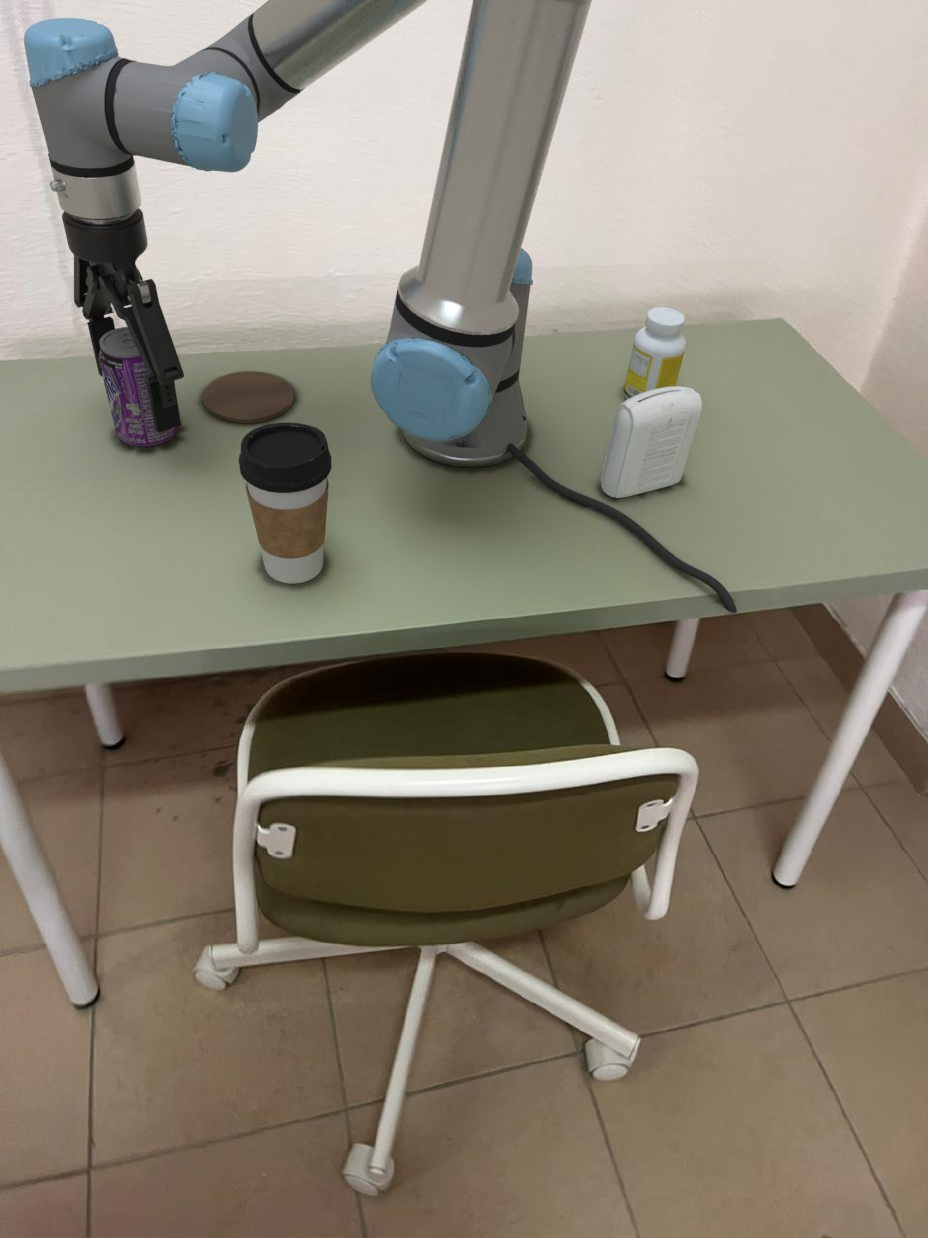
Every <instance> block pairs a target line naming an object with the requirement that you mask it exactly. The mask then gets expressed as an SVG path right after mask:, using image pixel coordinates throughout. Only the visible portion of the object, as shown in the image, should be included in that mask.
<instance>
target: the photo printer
mask: <svg viewBox="0 0 928 1238" xmlns="http://www.w3.org/2000/svg"><path fill="white" fill-rule="evenodd" d="M702 412H703V402H702V397H701V395H700V393H698V392H696V391H695V390H694V388H691V387H687V386H678V385H676V386H675V387H663V388H658V389H653V390H650V391H647V392H644V393H641V394H638V395H636V396H634V397H632V398H630V399H628V400H627V399H626V400H624V401H623V402H621V403H620V404H619V405H618V406H617V408H616V409H615V412H614V416H613V420H612V425H611V429H610V433H609V437H608V441H607V446H606V451H605V454H604V459H603V463H602V468H601V473H600V479H599V481H600V482H601V483H600V487H601V490H602V491H603V492H604V493H605V494H606V495H607V496H609V497H610V498H611V497H612V498H616V499H622V498H627V497H631V496H637V495H639V494H644V493H648V492H651V491H655V490H659V489H663V488H666V487H670V486H673V485H676V484H678V483H680V481H681V480H682V478H683V476H684V472H685V469H686V466H687V465H686V464H687V461H688V458H689V455H690V451H691V448H692V445H693V442H694V439H695V436H696V432H697V429H698V425H699V423H700V419H701V416H702Z"/></svg>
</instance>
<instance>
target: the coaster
mask: <svg viewBox="0 0 928 1238" xmlns="http://www.w3.org/2000/svg"><path fill="white" fill-rule="evenodd" d="M294 396H295V395H294V389H293V388H292V385H291V384H290V383H288V381H286V380H285V379H284V378H282V377H280V376H277V375H275V374H272V373H268V372H263V371H252V370H251V371H250V370H247V371H238V372H233V373H229V374H225V375H223V376H222V375H221V376H220V377H217V378H215V379H214V380H213V381H210V383H209V384H208V385H207V386H206V387H205V389H204V391H203V393H202V401H203V405H204V407H205V408H206V410H207V411H208V412H209V413H210V414H211V415H213V416H214V417H216V418H218V419H220V420H224V421H227V422H231V423H237V424H256V423H262V422H266V421H271V420H273V419H276V418H278V417H280V416H281V415H283V414H285V413H286V412H287V411H288V410H289V409H290V408H291V407H292V405H293V403H294Z"/></svg>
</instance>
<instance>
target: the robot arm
mask: <svg viewBox="0 0 928 1238" xmlns="http://www.w3.org/2000/svg"><path fill="white" fill-rule="evenodd" d="M428 1H429V0H267V1H266V2H264V3H263V4H262V5H261V6H259V7H258V8H257V9H256V10H255V11H254V12H252V13H251V14H249V15H248V16H246V17H245V18H244V19H243V20H242V21H240V22H239V23H238V24H237V25H236V26H234V27H233V28H232V29H230V30H229V31H228V32H227V33H225V34H224V35H223V36H222V37H220V38H219V39H217V40H216V41H214V42H213V43H211V44H210V45H207V46H206V47H204V48H203V49H201V50H198V51H197V52H195V53H194V54H192V55H190V56H188V57H186V58H184V59H182V60H180V61H179V62H177V63H176V64H173V65H162V64H154V63H147V62H141V61H137V60H134V59H133V60H132V59H130V58H125V57H121V56H119V55H120V54H119V48H118V47H117V45H116V41H115V37H114V34H113V33H112V30H111V29H110V28H109V27H108V26H106V25H105V24H101V23H98V22H97V21H95V20H90V19H85V18H76V17H59V18H49V19H44V20H40V21H38V22H35V23H33V24H31V25H30V26H29V27H28V28H27V29H26V31H25V32H24V36H23V45H24V51H25V57H26V62H27V68H28V74H29V79H30V80H29V87H30V88H31V92H32V95H33V99H34V103H35V106H36V109H37V113H38V117H39V122H40V125H41V128H42V132H43V136H44V140H45V144H46V147H47V152H48V154H47V156H48V160H49V165H50V170H51V173H52V177H53V180H51V181H50V182H49V187H50V189H51V191H52V192H54V193H56V195H57V200H58V204H59V207H60V209H61V210H62V211H63V212H62V214H61V220H62V224H63V228H64V233H65V237H66V240H67V246H68V249H69V251H70V252H71V254H73V303H74V305H75V306H76V308H78V309H79V308H82V310H81V313H82V316H83V317H84V319H85V320H86V321H88V322H87V323H86V324H87V329H88V332H89V336H90V341H91V345H92V349H93V355H94V358H95V364H96V367H97V370H98V371H97V372H98V375H99V376H100V377H101V378H103V376H102V372H101V368H100V363H99V353H100V350H101V348H100V343H99V342H100V339H101V337H102V336H103V335H104V334H106V333H107V332H109V331H111V330H114V329H116V326H115V321H114V318H113V317H112V316H106V315H110V314H111V315H112V314H114V313H115V314H116V316H117V317H118V319H120V320H123V322H125V325H126V327H128V329H129V331H130V334H131V336H132V338H133V340H134V343H135V345H136V347H137V349H138V351H139V354H140V356H141V358H142V360H143V362H144V365H145V367H146V369H147V371H148V374H149V376H148V377H146V378H145V379H144V381H145V383H146V384H147V387H148V393H149V398H150V403H151V409H152V414H153V419H154V425H155V430H156V431H157V432H158V433H160V432H163V431H166V430H168V429H171V428H174V427H177V426H179V427H180V426H182V421H181V414H180V408H179V404H178V402H179V401H178V396H177V391H176V385H175V381H178V380H181V379H183V378H185V373H184V370H183V367H182V364H181V362H180V358H179V356H178V353H177V350H176V347H175V344H174V340H173V339H172V335H171V333H170V330H169V327H168V324H167V321H166V319H165V315H164V312H163V309H162V306H161V304H160V300H159V294H158V290H157V285H156V282H155V281H154V280H153V279H152V278H149V279H143V276H142V274H141V272H140V270H139V268H138V267H137V265H136V262H137V260H138V258H139V257H140V256H141V255H142V254H144V253H145V251H147V248H148V243H149V242H148V235H147V230H146V223H145V217H144V212H143V211H142V209H141V208H140V207H141V206H142V197H141V196H142V195H141V190H140V184H139V178H138V171H137V166H136V165H137V164H136V160H135V158H134V157H136V156H137V157H142V158H145V159H146V158H147V159H150V160H157V161H160V162H165V163H171V164H176V165H181V166H185V167H190V168H193V169H195V170H198V171H204V172H221V173H222V172H223V173H237V172H241V171H242V170H244V169H245V168H246V167H247V166H248V165H249V164H250V162H251V158H252V154H253V153H254V152H255V151H256V146H257V142H258V132H259V123H260V122H262V121H263V120H265V119H267V118H268V117H269V116H271V115H272V114H274V113H275V112H277V111H278V110H280V109H281V108H283V107H284V106H285V105H286V103H288V102H290V101H291V100H293V98H295V97H296V96H298V95H299V94H301V92H302V91H304V90H305V89H306V88H309V86H311V85H313V84H314V83H315V82H316V81H317V80H319V79H320V78H322V77H323V76H325V75H326V74H327V73H329V72H330V71H332V70H333V69H335V68H336V67H337V66H339V65H340V64H341V63H343V62H345V60H347V59H349V58H351V56H353V55H354V54H356V53H357V52H358V51H360V50H361V49H362V48H364V47H365V46H367V45H368V44H369V43H371V42H373V41H374V40H375V39H377V38H378V37H379V36H381V35H382V34H384V33H385V32H386V31H388V30H389V29H391V28H392V27H393V26H395V25H396V24H398V23H399V22H401V21H402V20H403V19H404V18H406V17H407V16H408V15H410V14H412V13H413V12H414V11H416V10H417V9H418V8H420V7H421V6H422V5H424V4H425V3H427V2H428ZM592 3H593V0H472V4H471V7H470V8H471V9H470V13H469V17H468V22H467V28H466V33H465V38H464V42H463V47H462V53H461V57H460V62H459V67H458V72H457V76H456V82H455V86H454V92H453V97H452V101H451V106H450V112H449V115H448V121H447V126H446V130H445V135H444V140H443V145H442V150H441V155H440V160H439V166H438V170H437V175H436V179H435V183H434V190H433V195H432V200H431V205H430V209H429V213H428V218H427V223H426V224H427V225H426V229H425V234H424V239H423V243H422V249H421V253H420V259H419V263H418V264H417V265H415V266H413V267H411V268H410V269H408V270H406V271H405V272H404V273H403V274H402V275H401V276H400V279H399V282H398V283H397V289H396V294H395V299H394V305H393V310H392V315H391V319H390V326H389V330H388V335H387V338H386V341H385V343H384V345H383V346H382V347H381V348H380V349H379V350H378V351H377V353H376V356H375V357H374V360H373V366H372V368H371V373H370V386H371V387H370V388H371V391H372V394H373V398H374V400H375V402H376V404H377V406H378V407H379V409H380V410H382V411H383V412H384V413H385V414H386V416H387V419H388V420H389V421H390V422H391V423H392V424H394V425H395V426H396V427H398V428H399V429H401V430H402V434H403V437H404V439H405V441H406V442H407V443H408V445H409V446H410V447H411V448H412V449H413V450H415V452H417V453H418V454H420V455H422V456H423V457H425V458H428V459H429V460H432V461H434V462H437V463H440V464H443V465H448V466H453V467H459V468H460V467H461V468H481V467H488V466H493V465H496V464H500V463H503V462H505V461H507V460H510V459H511V458H513V457H514V458H515V459H516V460H517V461H519V462H520V463H521V464H522V465H523V466H524V467H526V468H527V469H528V470H529V471H530V472H531V473H532V474H533V475H534V476H535V477H536V478H537V479H538V480H539V481H540V482H541V483H542V484H544V485H545V486H546V487H548V488H549V489H551V490H552V491H554V492H555V493H558V494H559V495H560V496H563V497H565V498H567V499H570V500H572V501H574V502H577V503H579V504H582V505H584V506H587V507H589V508H592V509H594V510H597V511H598V512H601V513H603V514H605V515H607V516H609V517H611V518H613V519H614V520H615V521H617V522H618V523H621V524H622V525H623V526H624V527H626V528H627V529H629V530H630V531H631V532H632V533H633V534H635V535H636V536H637V537H638V538H639V539H640V540H642V541H643V542H644V543H645V544H646V545H647V546H648V547H649V548H650V549H652V550H653V551H654V552H655V553H656V554H658V556H659V557H660V558H662V559H663V560H664V561H666V562H667V563H668V564H669V565H671V566H672V567H673V568H675V569H676V570H678V571H680V572H682V573H684V574H685V575H688V576H690V577H692V578H694V579H696V580H697V581H700V582H701V583H703V584H705V585H706V586H708V587H710V588H711V590H713V591H714V592H715V594H716V595H717V596H718V597H719V599H720V600H721V602H722V604H723V605H724V608H725V609H726V610H727V611H728V612H729V613H733V614H736V613H737V612H738V611H737V609H738V608H737V606H736V603H735V601H734V599H733V597H732V595H731V594H730V592H729V591H728V590H727V589H726V587H725V586H724V585H723V584H722V582H720V581H719V580H717V578H715V577H713V576H712V575H710V574H709V573H707V572H705V571H703V570H700V569H699V568H696V567H694V566H693V565H691V564H689V563H686V562H685V561H683V560H681V558H679V557H677V556H676V555H674V553H672V552H671V551H669V549H667V548H666V547H665V546H664V545H662V543H660V542H659V541H658V540H657V539H656V538H655V537H654V536H652V535H651V534H650V533H649V532H648V531H647V530H646V529H645V528H643V526H641V525H640V524H639V523H637V522H636V521H635V520H633V519H632V518H630V517H629V516H628V515H626V514H624V512H622V511H620V510H618V509H616V508H615V507H613V506H611V505H608V504H606V503H604V502H602V501H600V500H597V499H595V498H592V497H590V496H588V495H585V494H582V493H580V492H577V491H574V490H572V489H570V488H568V487H566V486H564V485H562V484H561V483H560V482H557V481H556V480H554V479H553V478H552V477H550V475H548V473H546V472H544V470H543V469H542V468H541V467H540V466H538V464H537V463H535V461H533V460H532V459H531V458H530V457H529V456H527V454H525V453H524V452H523V451H521V450H522V449H523V447H524V446H525V444H526V440H527V435H528V415H527V411H526V408H525V403H524V397H523V392H522V388H521V383H520V372H521V364H522V359H523V358H522V357H523V356H522V355H523V348H524V340H525V333H526V325H527V317H528V309H529V300H530V293H531V286H533V284H534V280H533V279H532V278H533V261H532V260H533V259H532V258H531V256H530V254H529V253H528V252H527V251H526V250H525V249H524V248H522V246H523V244H524V243H523V242H524V239H525V235H526V232H527V229H528V225H529V222H530V218H531V214H532V211H533V207H534V205H535V201H536V197H537V195H538V190H539V186H540V183H541V180H542V176H543V172H544V169H545V166H546V162H547V158H548V155H549V151H550V148H551V145H552V141H553V138H554V134H555V130H556V128H557V123H558V120H559V117H560V113H561V110H562V106H563V103H564V99H565V96H566V92H567V89H568V85H569V82H570V80H571V79H570V78H571V76H572V75H571V74H572V71H573V68H574V65H575V61H576V58H577V55H578V50H579V47H580V43H581V39H582V37H583V33H584V29H585V26H586V24H587V23H586V22H587V18H588V16H589V12H590V9H591V5H592ZM105 316H106V317H105Z"/></svg>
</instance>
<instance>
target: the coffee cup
mask: <svg viewBox="0 0 928 1238" xmlns="http://www.w3.org/2000/svg"><path fill="white" fill-rule="evenodd" d="M332 462H333V461H332V455H331V452H330V447H329V443H328V440H327V437H326V435H325V433H324V432H323V431H322V430H321V429H319V428H318V427H315V426H312V425H309V424H305V423H299V422H273V423H267V424H264V425H260V426H259V427H255V428H254V429H252V430H250V431H249V432H248V433H247V434H246V435H245V436H244V437H243V438H242V440H241V442H240V453H239V456H238V465H239V473H240V475H241V476H242V479H244V480H245V481H246V482H245V491H246V495H247V499H248V503H249V507H250V510H251V511H250V512H251V515H252V519H253V523H254V528H255V531H256V536H257V540H258V544H259V546H260V551H261V555H262V560H263V565H264V569H265V572H266V573H267V575H269V577H270V578H271V579H273V580H274V581H277V582H279V583H282V584H290V585H292V584H294V585H295V584H302V583H306V582H308V581H310V580H313V579H314V578H316V577H317V576H318V575H319V574H320V573H321V571H322V570H323V567H324V557H325V556H324V555H325V539H326V530H327V529H326V526H327V514H328V500H329V488H330V487H329V486H330V482H329V479H328V476H329V475H330V473H331V471H332V465H333V463H332Z"/></svg>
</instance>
